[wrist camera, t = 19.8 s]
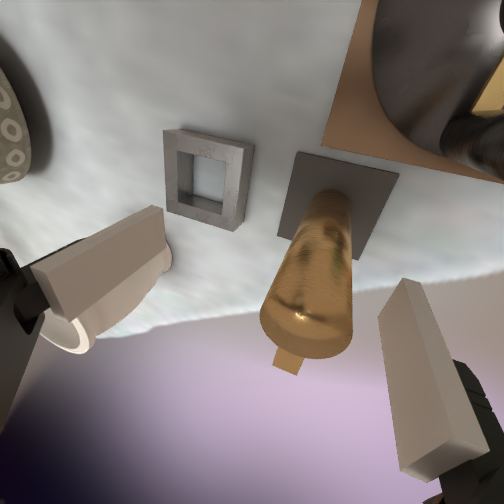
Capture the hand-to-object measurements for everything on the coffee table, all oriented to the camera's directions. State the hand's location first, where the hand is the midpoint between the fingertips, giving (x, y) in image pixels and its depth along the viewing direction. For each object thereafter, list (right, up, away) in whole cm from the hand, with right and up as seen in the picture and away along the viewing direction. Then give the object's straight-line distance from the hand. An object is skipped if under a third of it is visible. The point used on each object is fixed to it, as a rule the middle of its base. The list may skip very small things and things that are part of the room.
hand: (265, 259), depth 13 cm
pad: (+7, +5, +11) cm, 14 cm away
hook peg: (+7, +4, +11) cm, 13 cm away
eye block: (-5, +9, +14) cm, 17 cm away
